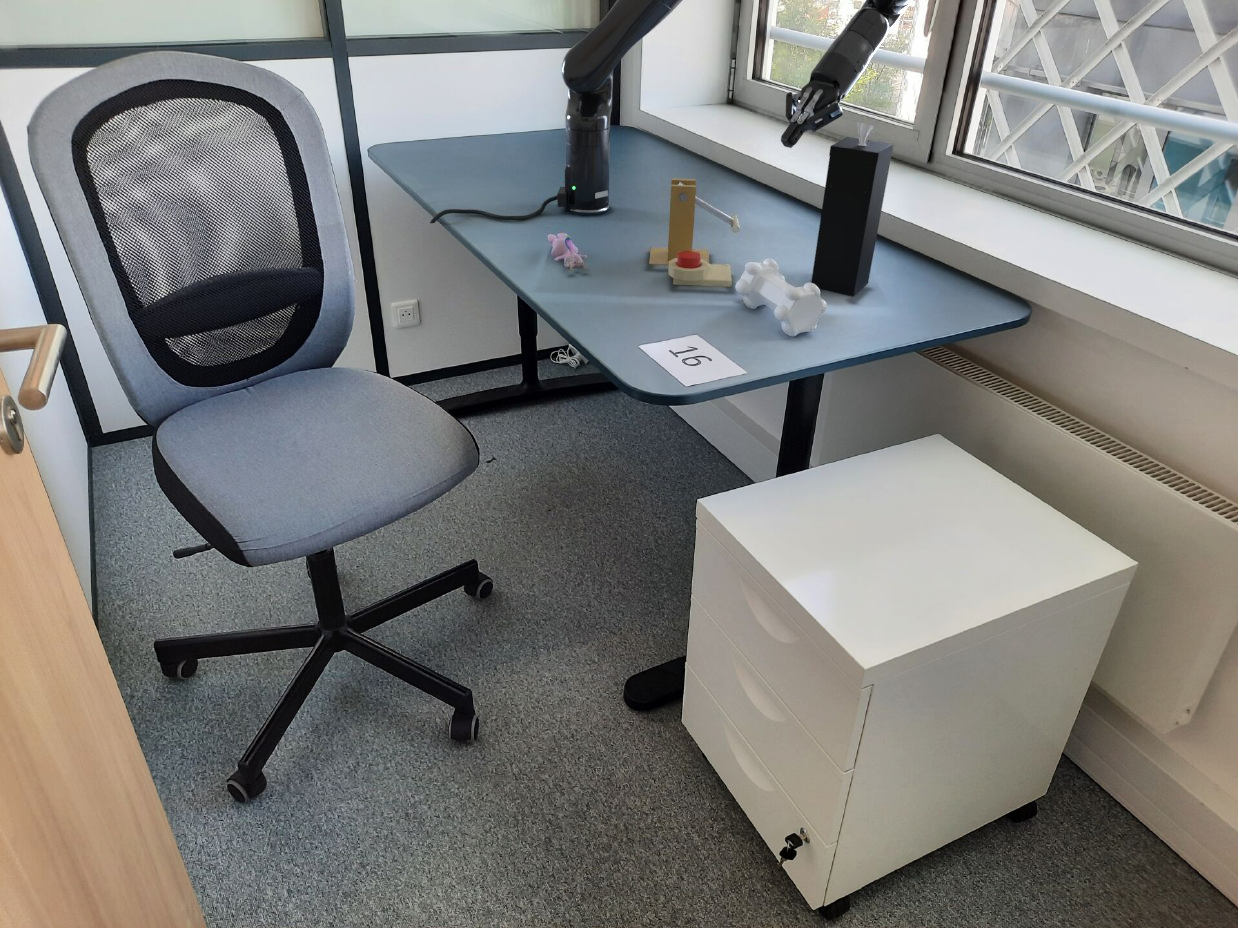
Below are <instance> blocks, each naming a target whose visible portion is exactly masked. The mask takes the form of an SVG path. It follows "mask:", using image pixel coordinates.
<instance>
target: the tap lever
mask: <svg viewBox="0 0 1238 928" xmlns="http://www.w3.org/2000/svg"><path fill="white" fill-rule="evenodd" d="M678 185H685V184H684V183H682V182H679V184H678ZM695 206H697V207H699V208H700V209H703V210H704V211H706V212H708V213H710V214H711V215H713V216H714V217H716V218H717V219H720V220H721V221H723V222H724V223H726V224H728V225H730V228H731V231H732V233H735V234H736V233H738V232H739V231H740V223H739V222H740V221H739V217H738V216H737V215H736V214H732V215H728V214H726V213H725V212H722V211H721V210H719V209H718V208H717V207H715V206H713V205H711V204H710V203H709V202H706V201H705V200H703V199H701V198H700V197H698V196H696V199H695Z"/></svg>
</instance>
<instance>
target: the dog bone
mask: <svg viewBox="0 0 1238 928" xmlns="http://www.w3.org/2000/svg"><path fill="white" fill-rule="evenodd" d="M735 290H736V292H737V293H738V294H739V295H742V302H743V304H744V305H745V306H746V308H748V309H751V310H755V309H757V308H758V307H759V306H766V307H767V308H769V309H771V310H772V311H773V315H774V317H775V319H777V320H778V321H780V322H781V329H782V331H783V332H784V334H786V335H787V336H789V337H796V336H797V335H798V334H801V333H811V332H814V331H815V330H816V329H817V324H818V323H819V321H820V320H821V318H822V316H823V315H824V314H825V313H826V312H827V309H828V303H827V302H826V300H824V299H823V298H822V297H821V289H819V288H818V287H817V286H816V285H815V284H813V283H811V282H805V283H804V284H803V285H802V286H793V285H792V284H790V283H789V282H787V281H786V278H785V276H784V275H783V274H781V273H780V271H779V264H778V263H777V261H776V260H774V259H772V258H770V257H767V258H765V259H764V260H763V261H762V262H760V261H759V262H755V261H750V262H747V263H746V264H745V265H744V271H743V273H742V274H741V277H740V278H739V279H738V280H737V281H736V283H735Z"/></svg>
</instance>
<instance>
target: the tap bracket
mask: <svg viewBox="0 0 1238 928" xmlns="http://www.w3.org/2000/svg"><path fill="white" fill-rule="evenodd" d="M679 182H682V183H684V184H685V185H678V184H679ZM670 183H671V184H670V198H669V199H670V201H669V202H670V203H669V204H670V205H669V220H668V240H667V247H652V246H651V247H650V251H649V259H648V260H649V261H648V264H649V265H655V266H656V265H657V266H669V261H671V260H672V259H674V258H678V253H679V252H682V251H695V252H698V253H700V254H701V259H703V260H705V261H706V262H708V263H709V264H710V255H709V254H710V253H709V249H703V248H702V249H701V248H700V249H699V248H698V249H697V248H693V245H694V242H693V241H694V227H695V214H696V204H695V199H696V197H697V196H696V195H697V179H695V178H671V182H670Z"/></svg>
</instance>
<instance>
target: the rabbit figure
mask: <svg viewBox="0 0 1238 928" xmlns="http://www.w3.org/2000/svg"><path fill="white" fill-rule="evenodd" d="M547 240H548V243H549V244H550V245H551V246H552V249H551V253H550V254H551V255H552V256H553V257H554V259H553V261H554V262H557V261H560V260H563V266H564V267H565V268H566V269H570V271H571V272H572V271H573V268H575V267H577V268H583V270H586V264H585V262H584V260H583V259H587V258H588V256H587V255H586V254H580V253H578V252H579V249H578V247H577V246H576V245H575V244H574V243H573V240H572V237H571V235H570V234H569V235H568V233H566V232H560V233H557V235H555V234H552V233H549V234H547ZM582 258H583V259H582Z"/></svg>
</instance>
